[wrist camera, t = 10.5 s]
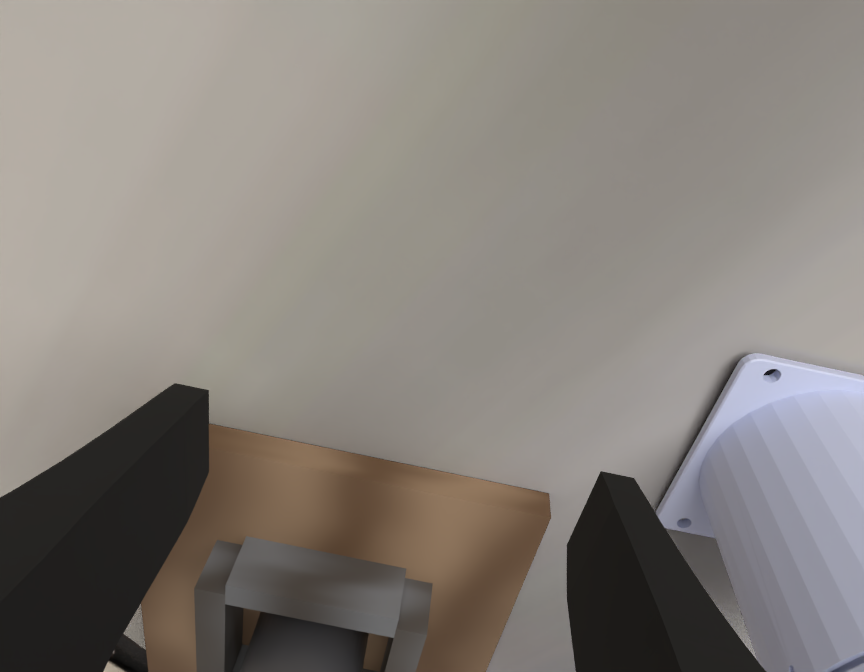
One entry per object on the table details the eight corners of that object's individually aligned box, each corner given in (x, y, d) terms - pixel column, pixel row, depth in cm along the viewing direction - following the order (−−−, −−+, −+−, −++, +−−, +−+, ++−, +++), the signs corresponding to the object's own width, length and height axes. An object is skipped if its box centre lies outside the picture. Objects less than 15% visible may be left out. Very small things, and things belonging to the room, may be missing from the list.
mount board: (549, 493, 25) (554, 570, 22) (454, 724, 34) (450, 798, 31) (138, 409, 24) (87, 475, 21) (160, 665, 34) (128, 735, 31)
